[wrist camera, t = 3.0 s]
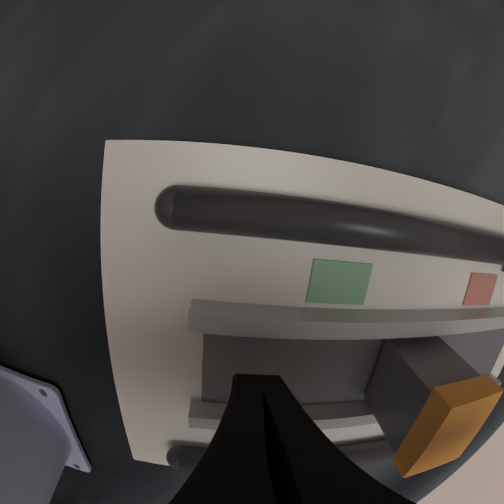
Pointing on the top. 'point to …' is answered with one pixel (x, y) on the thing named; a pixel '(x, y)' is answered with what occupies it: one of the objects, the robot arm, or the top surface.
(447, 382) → the breaker lever
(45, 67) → the top surface
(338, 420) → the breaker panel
